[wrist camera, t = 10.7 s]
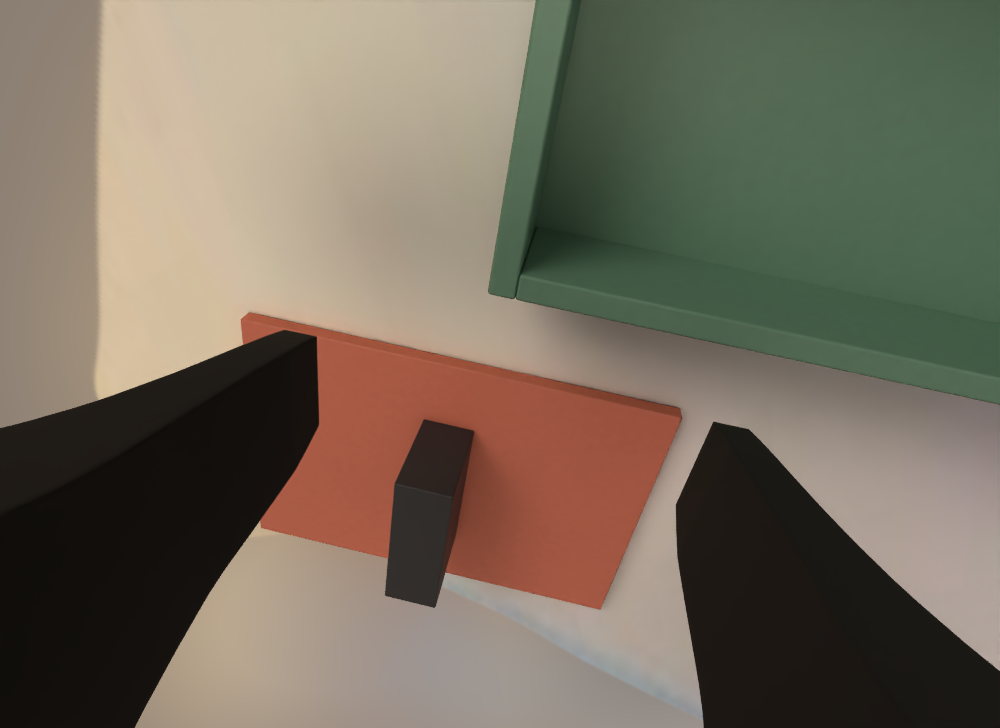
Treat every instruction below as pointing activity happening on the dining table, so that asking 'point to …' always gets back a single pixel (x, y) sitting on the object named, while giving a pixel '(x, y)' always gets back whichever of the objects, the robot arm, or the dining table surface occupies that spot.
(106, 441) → the robot arm
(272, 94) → the dining table surface
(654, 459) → the lunchbox lid
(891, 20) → the box
